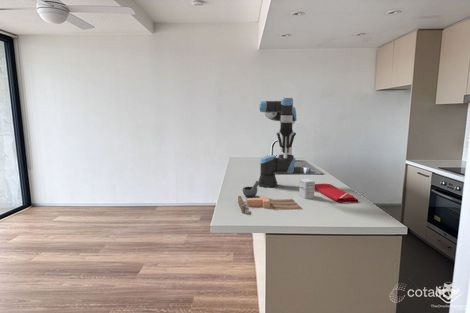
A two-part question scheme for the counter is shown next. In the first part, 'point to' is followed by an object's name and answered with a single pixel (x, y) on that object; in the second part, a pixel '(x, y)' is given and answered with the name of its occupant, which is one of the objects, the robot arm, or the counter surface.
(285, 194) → the counter surface
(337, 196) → the dish drying mat
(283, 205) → the board
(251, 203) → the tee
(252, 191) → the mortar and pestle
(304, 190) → the supplement box
